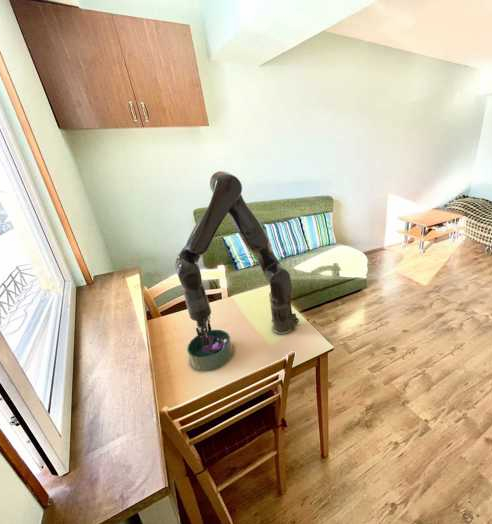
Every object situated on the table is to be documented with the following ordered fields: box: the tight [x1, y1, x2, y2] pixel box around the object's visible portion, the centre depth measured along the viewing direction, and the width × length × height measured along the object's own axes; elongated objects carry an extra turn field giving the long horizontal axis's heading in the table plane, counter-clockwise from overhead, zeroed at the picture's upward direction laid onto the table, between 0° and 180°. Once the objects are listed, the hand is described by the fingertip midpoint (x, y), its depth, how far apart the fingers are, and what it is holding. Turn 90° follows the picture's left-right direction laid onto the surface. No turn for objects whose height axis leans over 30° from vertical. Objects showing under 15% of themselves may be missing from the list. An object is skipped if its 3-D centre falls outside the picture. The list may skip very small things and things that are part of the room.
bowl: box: [186, 329, 234, 372], centre depth 116 cm, size 16×16×7 cm
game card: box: [201, 335, 228, 354], centre depth 117 cm, size 7×5×9 cm
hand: (207, 337), depth 113 cm, fingers open, 8 cm apart
